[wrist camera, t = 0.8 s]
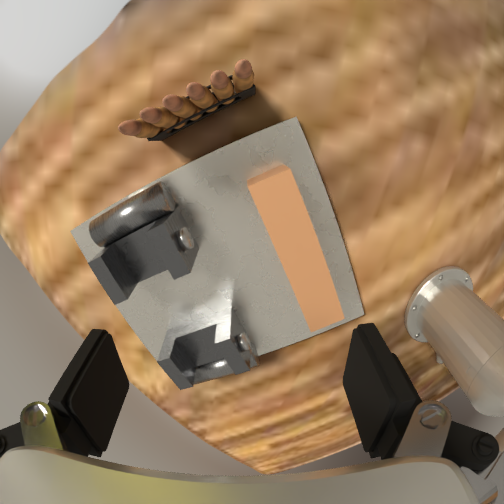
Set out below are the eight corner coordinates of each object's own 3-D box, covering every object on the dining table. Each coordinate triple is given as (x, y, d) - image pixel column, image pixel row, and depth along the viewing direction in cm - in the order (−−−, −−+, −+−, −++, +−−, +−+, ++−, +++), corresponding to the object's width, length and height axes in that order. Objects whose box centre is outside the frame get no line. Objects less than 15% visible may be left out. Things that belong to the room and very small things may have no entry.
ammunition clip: (161, 141, 28) (113, 146, 17) (153, 126, 27) (102, 123, 16) (255, 94, 27) (264, 68, 15) (247, 78, 26) (251, 44, 15)
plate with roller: (361, 310, 36) (381, 343, 30) (174, 376, 40) (166, 412, 33) (294, 117, 27) (309, 112, 21) (74, 228, 31) (43, 250, 25)
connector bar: (335, 299, 34) (344, 318, 31) (304, 312, 35) (311, 332, 31) (284, 164, 28) (290, 168, 25) (246, 180, 29) (247, 186, 25)
